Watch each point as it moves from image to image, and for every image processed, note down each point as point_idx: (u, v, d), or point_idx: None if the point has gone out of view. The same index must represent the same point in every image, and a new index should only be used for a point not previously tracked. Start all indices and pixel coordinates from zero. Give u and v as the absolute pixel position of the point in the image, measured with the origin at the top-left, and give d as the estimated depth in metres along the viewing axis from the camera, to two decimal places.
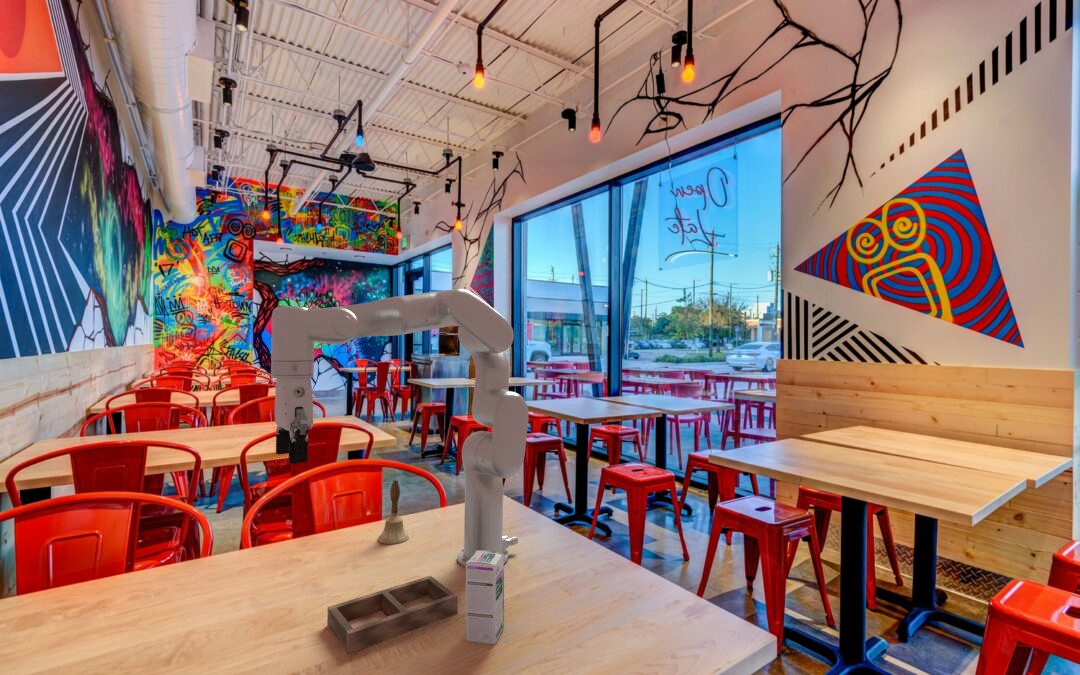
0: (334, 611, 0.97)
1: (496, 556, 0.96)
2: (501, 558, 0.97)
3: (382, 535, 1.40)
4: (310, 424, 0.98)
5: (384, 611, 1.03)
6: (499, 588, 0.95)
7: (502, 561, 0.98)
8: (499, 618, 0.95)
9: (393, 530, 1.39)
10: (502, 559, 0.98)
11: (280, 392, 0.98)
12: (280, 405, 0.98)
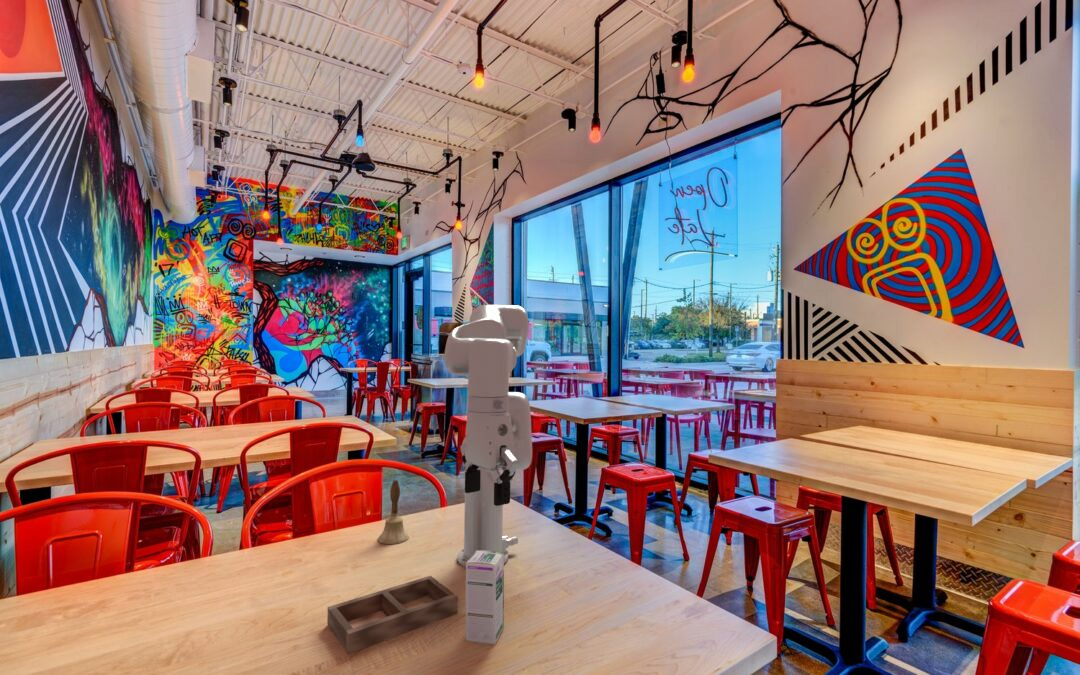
0: (334, 611, 0.97)
1: (496, 556, 0.96)
2: (501, 558, 0.97)
3: (382, 535, 1.40)
4: None
5: (384, 611, 1.03)
6: (499, 588, 0.95)
7: (502, 561, 0.98)
8: (499, 618, 0.95)
9: (393, 530, 1.39)
10: (502, 559, 0.98)
11: (480, 430, 0.94)
12: (480, 443, 0.94)
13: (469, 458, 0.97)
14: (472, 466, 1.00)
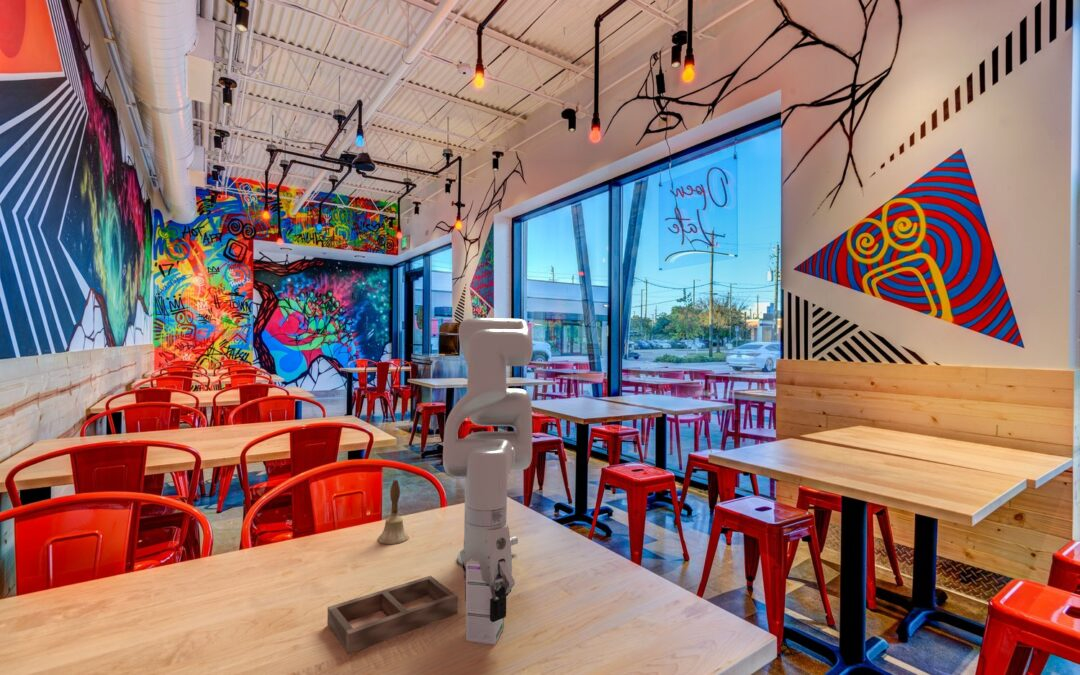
0: (334, 611, 0.97)
1: None
2: None
3: (382, 535, 1.40)
4: None
5: (384, 611, 1.03)
6: (499, 588, 0.95)
7: None
8: None
9: (393, 530, 1.39)
10: None
11: (479, 542, 0.94)
12: (479, 555, 0.94)
13: None
14: None
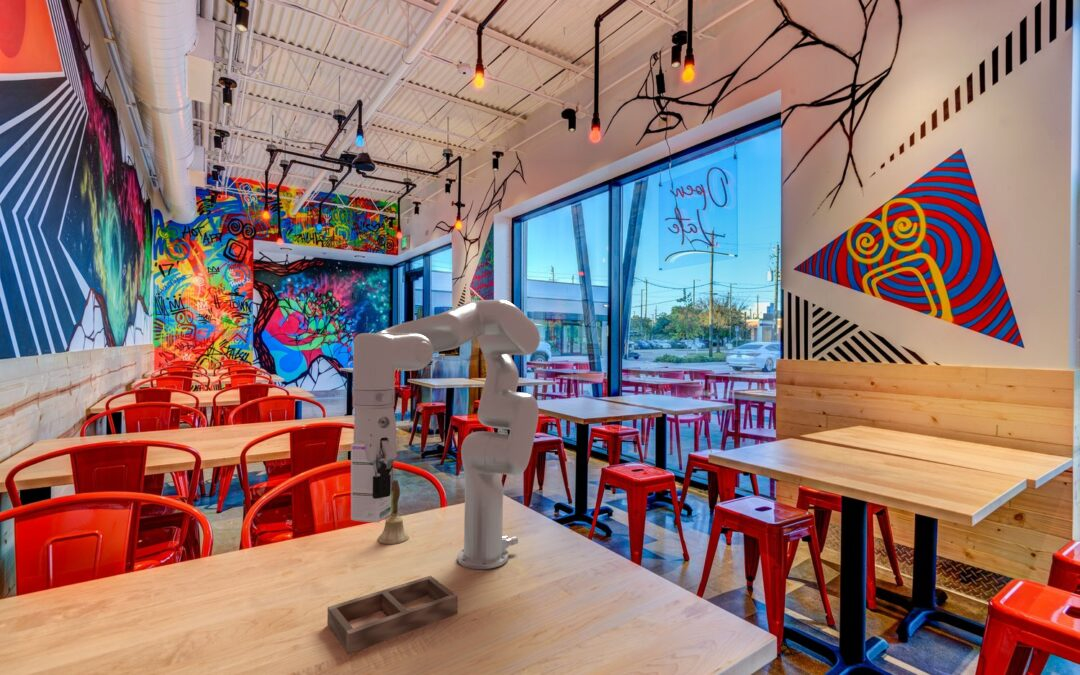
0: (334, 611, 0.97)
1: None
2: None
3: (382, 535, 1.40)
4: (394, 455, 0.95)
5: (384, 611, 1.03)
6: None
7: None
8: (385, 499, 0.97)
9: (393, 530, 1.39)
10: None
11: (363, 422, 0.95)
12: (363, 436, 0.95)
13: None
14: None
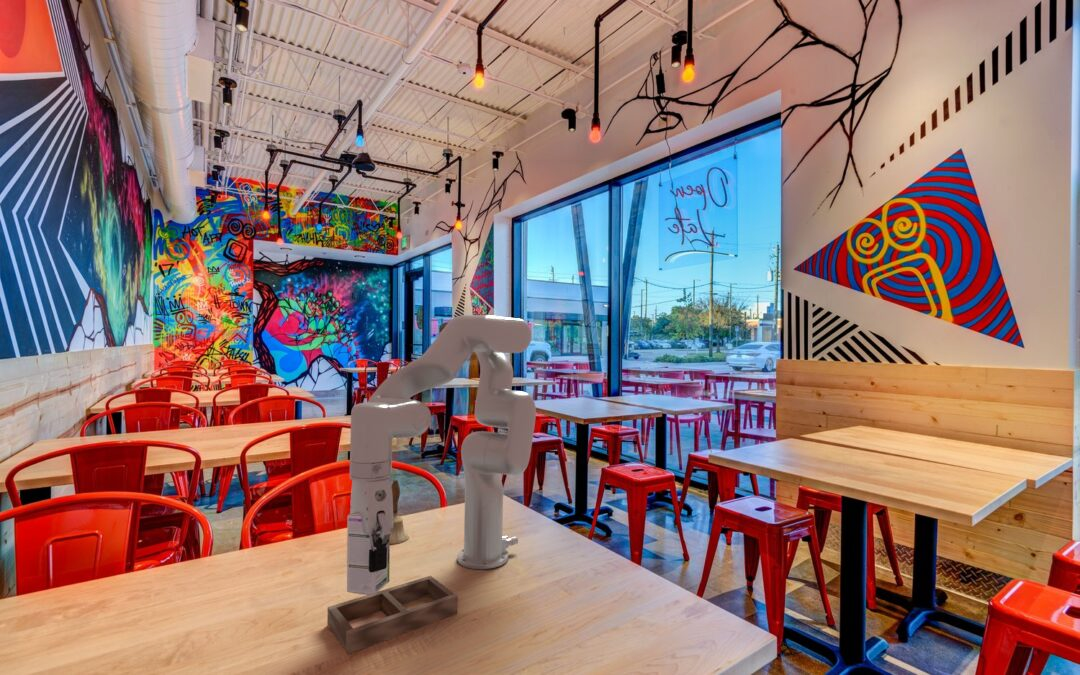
0: (334, 611, 0.97)
1: None
2: None
3: None
4: (391, 527, 0.95)
5: (384, 611, 1.03)
6: None
7: None
8: (381, 570, 0.97)
9: (393, 530, 1.39)
10: None
11: (360, 494, 0.95)
12: (360, 508, 0.95)
13: None
14: None
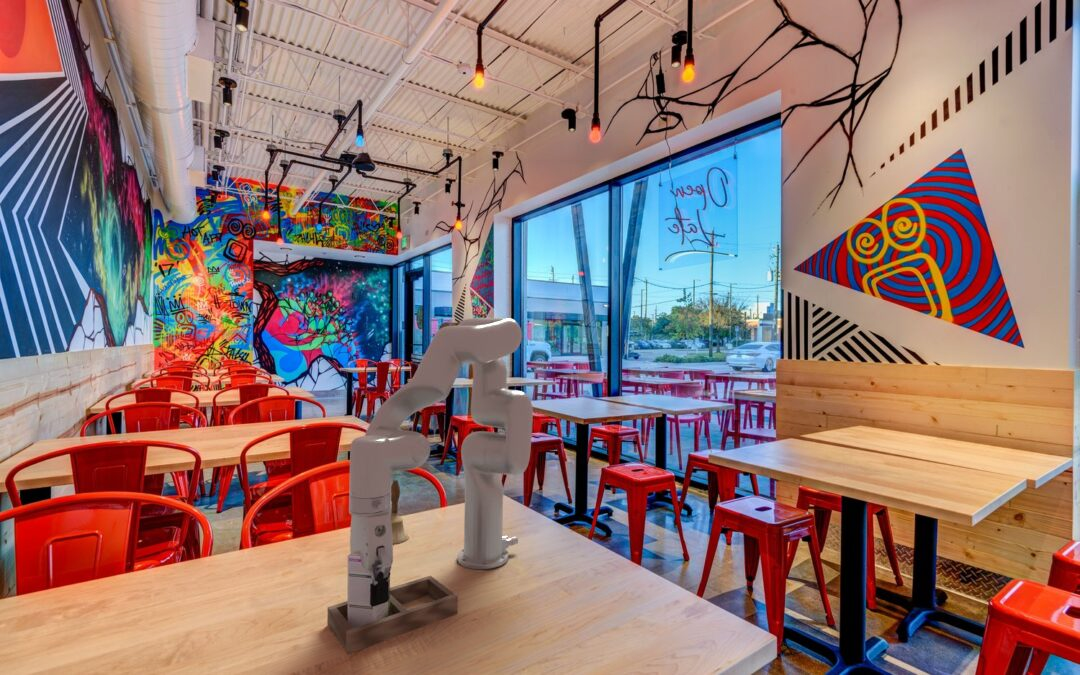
0: (334, 611, 0.97)
1: None
2: None
3: None
4: (390, 562, 0.95)
5: None
6: None
7: None
8: (382, 610, 0.97)
9: (393, 530, 1.39)
10: None
11: (359, 529, 0.95)
12: (359, 543, 0.95)
13: None
14: None
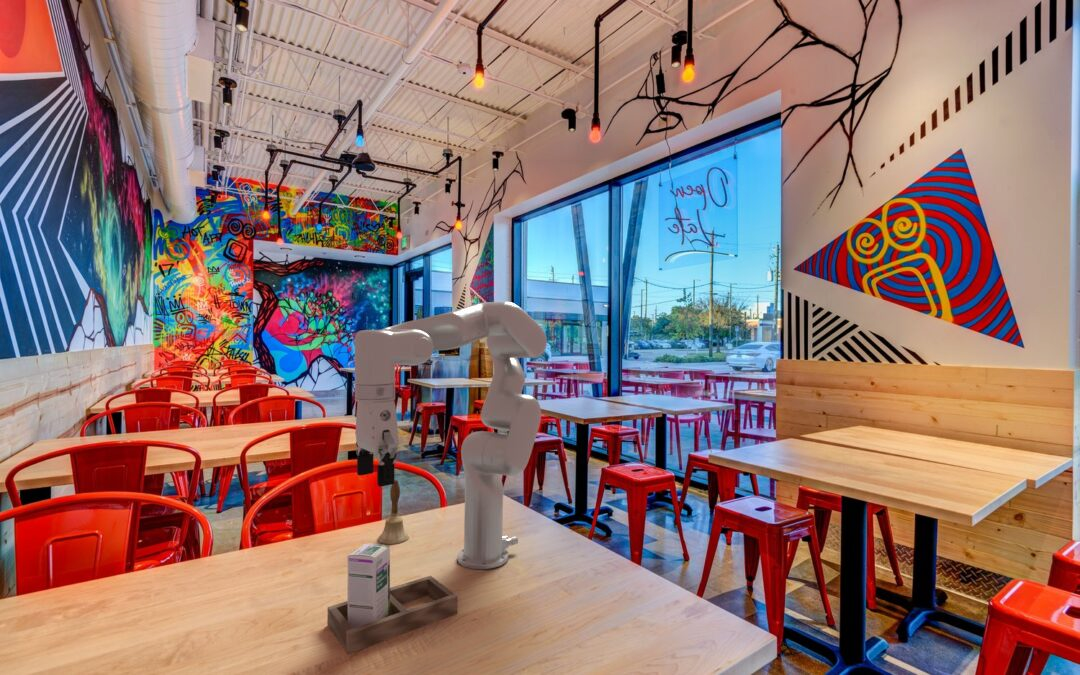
0: (334, 611, 0.97)
1: (380, 549, 0.98)
2: (386, 551, 0.99)
3: (382, 535, 1.40)
4: None
5: None
6: (381, 580, 0.97)
7: (387, 554, 0.99)
8: (382, 610, 0.97)
9: (393, 530, 1.39)
10: (387, 552, 0.99)
11: (365, 415, 0.99)
12: (366, 428, 0.99)
13: (359, 442, 1.03)
14: (364, 450, 1.06)
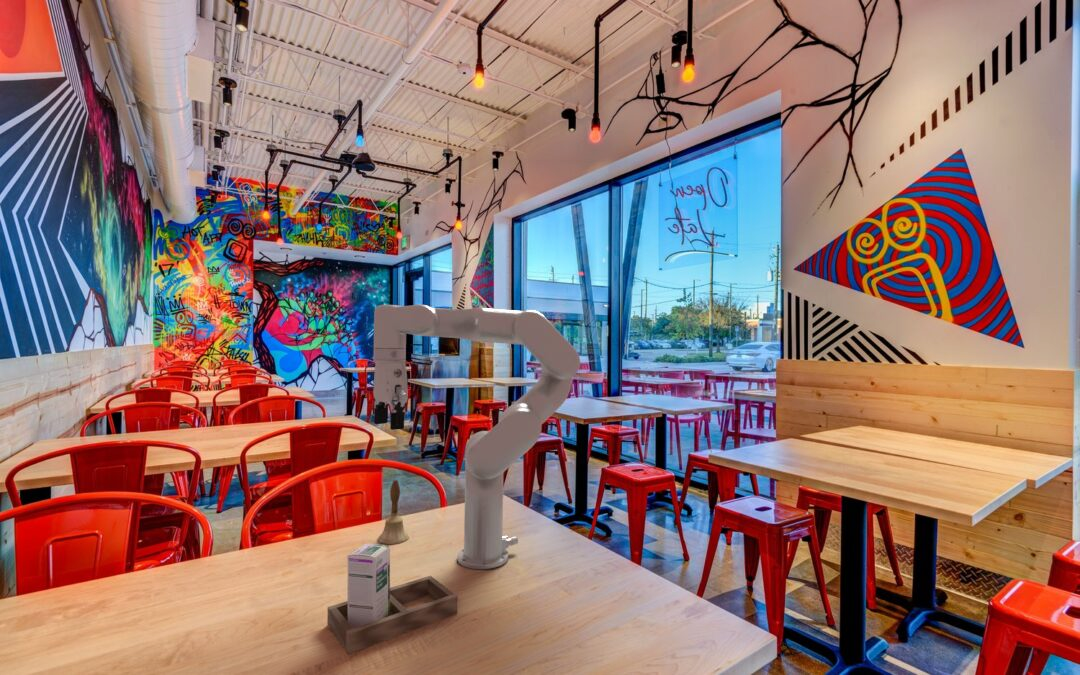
0: (334, 611, 0.97)
1: (380, 549, 0.98)
2: (386, 551, 0.99)
3: (382, 535, 1.40)
4: (405, 399, 1.23)
5: None
6: (381, 580, 0.97)
7: (387, 554, 0.99)
8: (382, 610, 0.97)
9: (393, 530, 1.39)
10: (387, 552, 0.99)
11: (382, 373, 1.23)
12: (382, 383, 1.23)
13: (376, 396, 1.27)
14: (380, 404, 1.30)
